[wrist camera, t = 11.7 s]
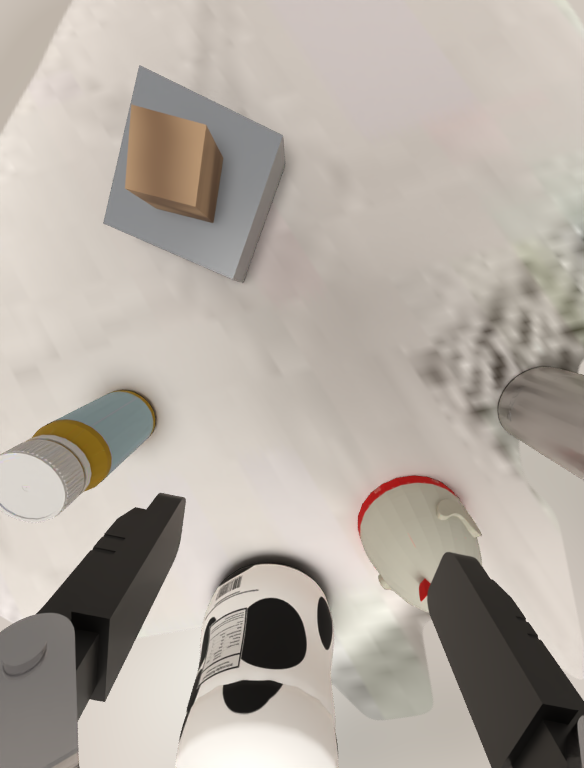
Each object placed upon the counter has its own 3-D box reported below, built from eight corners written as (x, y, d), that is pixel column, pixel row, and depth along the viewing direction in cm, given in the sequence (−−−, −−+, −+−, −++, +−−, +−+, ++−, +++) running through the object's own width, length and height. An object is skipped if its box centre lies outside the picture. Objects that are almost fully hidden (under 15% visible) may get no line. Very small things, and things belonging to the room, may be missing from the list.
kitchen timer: (419, 576, 44) (481, 713, 29) (338, 536, 42) (360, 660, 27) (482, 504, 40) (587, 619, 26) (396, 457, 39) (457, 551, 24)
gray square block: (285, 166, 30) (282, 135, 25) (243, 283, 33) (232, 279, 28) (170, 111, 29) (139, 65, 24) (137, 236, 32) (103, 223, 27)
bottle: (166, 405, 37) (83, 473, 23) (145, 450, 39) (55, 541, 24) (112, 378, 36) (-11, 430, 22) (92, 426, 38) (-32, 504, 23)
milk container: (309, 651, 48) (317, 852, 30) (201, 627, 47) (146, 820, 29) (345, 566, 43) (379, 745, 26) (227, 537, 42) (179, 703, 25)
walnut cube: (223, 158, 25) (206, 124, 20) (213, 223, 26) (195, 206, 22) (163, 141, 25) (131, 104, 20) (156, 208, 26) (124, 188, 21)
